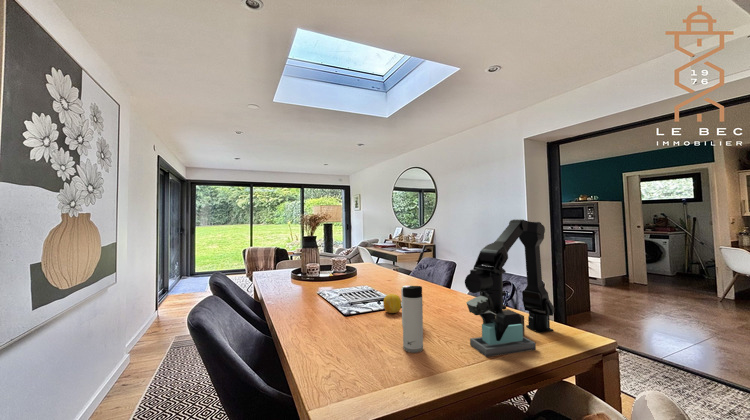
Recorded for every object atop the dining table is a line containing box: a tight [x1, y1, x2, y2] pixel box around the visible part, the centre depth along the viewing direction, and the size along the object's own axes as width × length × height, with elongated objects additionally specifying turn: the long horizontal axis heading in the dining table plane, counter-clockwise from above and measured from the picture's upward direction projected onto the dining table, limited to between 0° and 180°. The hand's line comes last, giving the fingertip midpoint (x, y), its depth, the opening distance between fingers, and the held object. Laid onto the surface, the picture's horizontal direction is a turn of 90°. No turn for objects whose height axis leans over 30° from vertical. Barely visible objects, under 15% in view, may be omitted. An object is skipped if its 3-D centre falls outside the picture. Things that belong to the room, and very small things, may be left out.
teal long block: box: [481, 323, 524, 345], centre depth 96 cm, size 12×4×5 cm, turn 105°
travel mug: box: [402, 285, 424, 354], centre depth 95 cm, size 6×7×20 cm
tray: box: [469, 336, 537, 358], centre depth 95 cm, size 18×9×2 cm, turn 105°
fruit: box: [382, 293, 402, 314], centre depth 132 cm, size 9×8×8 cm
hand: (493, 338), depth 95 cm, fingers closed on teal long block, 4 cm apart
